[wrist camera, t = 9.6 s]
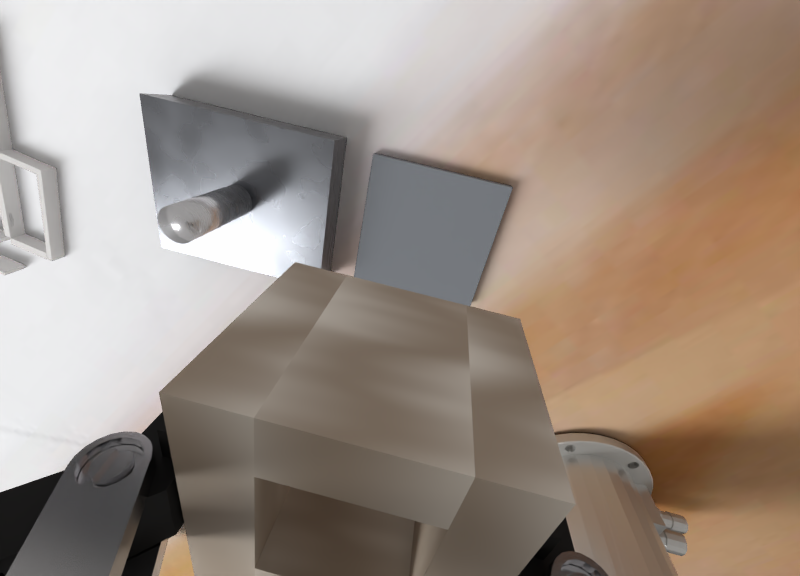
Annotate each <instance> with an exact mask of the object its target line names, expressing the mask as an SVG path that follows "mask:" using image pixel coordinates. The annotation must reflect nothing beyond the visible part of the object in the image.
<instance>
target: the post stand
mask: <svg viewBox="0 0 800 576" xmlns="http://www.w3.org/2000/svg"><path fill="white" fill-rule="evenodd" d="M140 100H141V107H142V114H143V121H144V128H145V135H146V142H147V150H148V157H149V164H150V171H151V178H152V185H153V192H154V199H155V206H156V213H157V220H158V227H159V235H160V242H161V248H165V249H169V250H173V251H177V252H181V253H184V254H188V255H192V256H196V257H200V258H204V259H208V260H212V261H215V262H219V263H223V264H227V265H231V266H235V267H239V268H243V269H246V270H250V271H254V272H258V273H262V274H266V275H270V276H274V277H277V278H279V277H280V276H281V275H282V274H283V273H284V272H285V271H286V270H287V269H288V268H289V267H291V266H292V265H293V264H294V263H295V262H297V263H301V264H305V265H309V266H313V267H317V268H321V269H324V270H328V271H331V264H332V256H333V248H334V239H335V231H336V223H337V214H338V206H339V198H340V189H341V181H342V173H343V164H344V156H345V148H346V140H347V138H346V137H342V136H338V135H334V134H330V133H325V132H321V131H317V130H313V129H309V128H305V127H301V126H296V125H292V124H288V123H284V122H280V121H276V120H272V119H267V118H263V117H259V116H255V115H251V114H247V113H243V112H238V111H234V110H230V109H226V108H222V107H218V106H214V105H209V104H205V103H201V102H197V101H193V100H189V99H185V98H180V97H176V96H172V95H159V94H141V93H140Z"/></svg>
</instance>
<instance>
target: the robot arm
mask: <svg viewBox="0 0 800 576" xmlns="http://www.w3.org/2000/svg"><path fill="white" fill-rule="evenodd" d="M555 437H556V440H557V443H558V447H559V450H560V453H561V457H562V460H563V463H564V467H565V470H566V473H567V477H568V480H569V483H570V487H571V490H572V493H573V497H574V500H575V503H576V505H575V506H574V507H573V508H572V510H571V511H570V512H569V513H568V515H567V516H566V517H565V518H564V520H563V521H562V522H561V523H560V524H559V526H558V527H557V528H556V529H555V531H554V532H553V533H552V534H551V536H550V537H549V538H548V539H547V540H546V542H545V543H544V544H543V545H542V547H541V548H540V549H539V550H538V551H537V553H536V554H535V555H534V556H533V558H532V559H531V560H530V561H529V563H528V564H527V565H526V566H525V567H524V569H523V570H522V571H521V572H520V574H519V575H518V576H678V574H677V572H676V569H675V567H674V565H673V563H672V561H671V559H670V557H669V555H668V553H667V552H669V553H672V554H676V555H680V556H683V555H685V554H686V551H687V543H686V540H685V537H684V536H683V535H682V534H684V533H686V532H687V530H688V524H687V521H686V519H685V518H684V517H683V516H681V515H678V514H674V513H670V512H667V511H665V512H664V511H660V510H659V509H658V508H657V507H656V505H655V503H654V501H653V499H652V497H651V493H652V490H653V478H652V475H651V473H650V470H649V469H648V467H647V465H646V463H645V462H644V460H643V458H642V457H641V456H640V455H639V454H638V453H637V452H636V451H635V450H633V449H632V448H630V447H629V446H627V445H626V444H624V443H622V442H619V441H617V440H615V439H612V438H608V437H605V436H601V435H595V434H587V433H567V434H559V435H555ZM183 523H184V519H183V513H182V508H181V503H180V498H179V493H178V488H177V483H176V477H175V472H174V467H173V462H172V457H171V452H170V446H169V441H168V436H167V431H166V426H165V421H164V415H163V412H162V413H161V414H160V415H159V416H158V417H157V418H156V419H155V420H154V421H153V422H152V423H151V424H150V425H149V426H148V428H147V429H146V430H145V431H144V432H143V433H142V434H140V433H137V432H119V433H114V434H110V435H107V436H105V437H102V438H100V439H97V440H96V441H94V442H92V443H91V444H89V445H87V446H86V447H84V448H83V449H82V450H81V451H80V452H78V453H77V454H76V455H75V456H74V457H73V459H72V460H71V461H70V463H69V464H68V465H67V467H66V469H65V470H64V471H62V472H59V473H56V474H53V475H50V476H47V477H44V478H41V479H38V480H35V481H32V482H29V483H27V484H24V485H21V486H18V487H15V488H12V489H9V490H6V491H3V492H0V576H159V573H160V569H161V565H162V561H163V557H164V554H165V550H166V546H167V542H168V538H170V537H172V536H174V535H176V534H177V532H178V531H179V529H180V528H181V526H182V524H183Z"/></svg>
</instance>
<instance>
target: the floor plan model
mask: <svg viewBox="0 0 800 576" xmlns="http://www.w3.org/2000/svg"><path fill="white" fill-rule="evenodd" d="M15 165H16V166H19V167H21V168H23V169H25V170H28V171H30V172H32V173H35V174H37V182H38V190H39V198H40V205H41V213H42V221H43V229H44V236H45V242H44V241H41V240H39V239H37V238H34V237H32V236H30V235H27V234H25V228H24V222H23V216H22V209H21V203H20V197H19V190H18V184H17V178H16V172H15ZM0 213H1V218H2V223H3V229H4V230H1V229H0V242H3V241H6V240H10V239H11V244H12V245H14V246H16V247H19V248H21V249H23V250H26V251H28V252H31V253H33V254H35V255H38V256H40V257H43V258H45V259H48V260H50V261H54V260H57V259H59V258H62V257H65V252H64V242H63V231H62V221H61V211H60V201H59V191H58V181H57V171H56V168H55V167H52V166H50V165H48V164H46V163H43V162H41V161H39V160H36V159H34V158H32V157H29V156H27V155H25V154H23V153H20V152H18V151H16V150H13V147H12V141H11V135H10V128H9V122H8V115H7V109H6V103H5V96H4V90H3V84H2V77H1V71H0ZM24 268H26V267H25V265H24V264H22V263H19V262H17V261H14V260H12V259H10V258H7V257H5V256H2V255H0V274H3V275H7V274H10V273H13V272H15V271H18V270H21V269H24Z"/></svg>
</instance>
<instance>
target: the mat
mask: <svg viewBox="0 0 800 576" xmlns="http://www.w3.org/2000/svg"><path fill="white" fill-rule="evenodd" d="M511 191H512V186H509V185H505V184H501V183H497V182H493V181H489V180H485V179H481V178H476V177H472V176H468V175H464V174H460V173H456V172H452V171H448V170H443V169H439V168H435V167H431V166H427V165H423V164H419V163H415V162H410V161H406V160H402V159H398V158H394V157H390V156H386V155H382V154H377V153H374V154H373V160H372V166H371V173H370V179H369V185H368V191H367V198H366V204H365V210H364V217H363V223H362V229H361V236H360V242H359V248H358V255H357V261H356V267H355V273H354V277H356V278H360V279H364V280H368V281H372V282H376V283H380V284H384V285H388V286H392V287H396V288H400V289H403V290H407V291H411V292H415V293H419V294H423V295H427V296H431V297H435V298H439V299H443V300H447V301H451V302H455V303H459V304H463V305H467V306H470V305H471V302H472V300H473V297H474V294H475V291H476V288H477V286H478V283H479V280H480V277H481V274H482V272H483V269H484V266H485V263H486V261H487V258H488V255H489V252H490V249H491V247H492V244H493V241H494V238H495V236H496V233H497V230H498V227H499V224H500V222H501V219H502V216H503V213H504V211H505V208H506V205H507V202H508V199H509V197H510V194H511Z"/></svg>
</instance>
